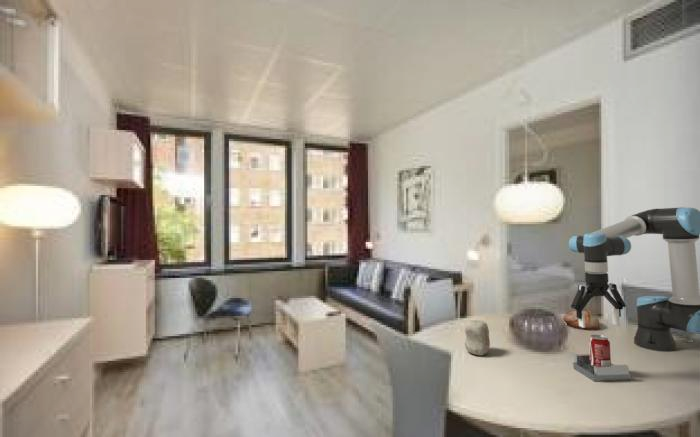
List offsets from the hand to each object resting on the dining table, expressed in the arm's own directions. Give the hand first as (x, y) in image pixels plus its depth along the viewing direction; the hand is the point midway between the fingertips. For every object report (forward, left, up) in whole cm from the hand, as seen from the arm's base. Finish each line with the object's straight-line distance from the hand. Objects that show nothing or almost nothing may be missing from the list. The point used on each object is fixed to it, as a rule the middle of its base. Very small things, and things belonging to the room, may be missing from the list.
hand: (599, 326), depth 140 cm
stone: (+39, -27, -19) cm, 51 cm away
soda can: (0, 0, -16) cm, 16 cm away
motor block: (0, 0, -19) cm, 19 cm away
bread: (-32, -61, -19) cm, 72 cm away
